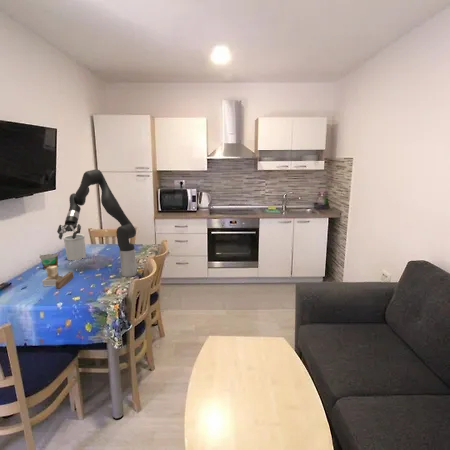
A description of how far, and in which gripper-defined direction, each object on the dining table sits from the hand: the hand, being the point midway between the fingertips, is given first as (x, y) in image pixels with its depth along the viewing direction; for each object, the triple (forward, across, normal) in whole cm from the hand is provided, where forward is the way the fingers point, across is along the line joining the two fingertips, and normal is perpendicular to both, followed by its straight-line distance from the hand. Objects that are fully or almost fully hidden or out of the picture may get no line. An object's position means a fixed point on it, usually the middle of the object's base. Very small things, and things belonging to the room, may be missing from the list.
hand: (66, 238), depth 210 cm
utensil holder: (-8, -12, +43) cm, 45 cm away
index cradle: (+29, -4, +5) cm, 30 cm away
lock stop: (+29, -3, +5) cm, 29 cm away
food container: (+8, -21, +27) cm, 35 cm away
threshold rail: (+29, +4, +5) cm, 30 cm away
